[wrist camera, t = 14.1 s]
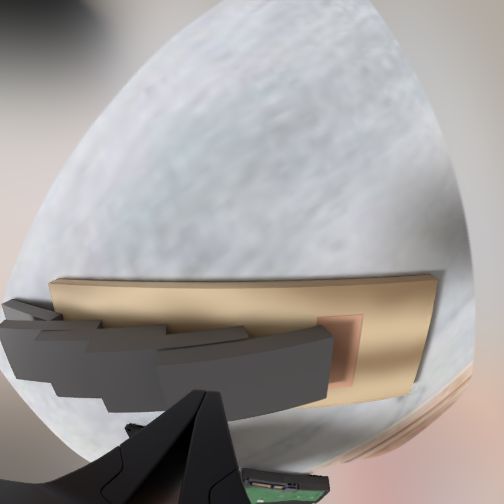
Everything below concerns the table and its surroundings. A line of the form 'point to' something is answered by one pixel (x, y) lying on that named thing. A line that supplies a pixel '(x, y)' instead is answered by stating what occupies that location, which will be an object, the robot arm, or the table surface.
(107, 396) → the domino
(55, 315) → the domino
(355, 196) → the table surface
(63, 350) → the domino
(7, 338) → the domino
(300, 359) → the domino
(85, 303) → the board
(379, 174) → the table surface
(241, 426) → the table surface
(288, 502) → the disk drive
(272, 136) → the table surface
